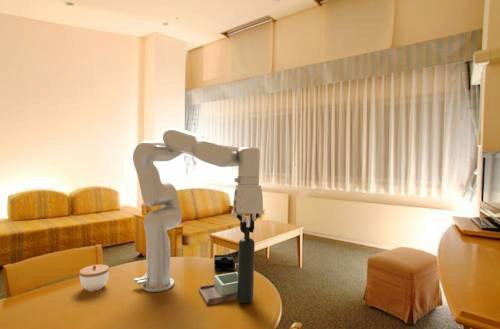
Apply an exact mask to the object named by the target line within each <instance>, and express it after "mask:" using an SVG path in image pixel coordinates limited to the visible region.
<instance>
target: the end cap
mask: <svg viewBox="0 0 500 329" xmlns="http://www.w3.org/2000/svg"><path fill="white" fill-rule="evenodd" d="M213 262H214V263H213V267H214V273H234V272H235V269H236V254H214V256H213Z"/></svg>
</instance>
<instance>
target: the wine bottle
mask: <svg viewBox="0 0 500 329" xmlns="http://www.w3.org/2000/svg"><path fill="white" fill-rule="evenodd" d="M245 222H246V233H243V238H240V240H239V242H238V255H237V256H238V257H237V260H238V261H237V263H238V290H237V299H236V300H237V301H238V302H240V303H243V304H248V303H251V302H253V300H254V283H255V282H254V281H255V278H254V277H255V276H254V274H255V245H256V244H255V243H256V242H255V241H254V239H253V238H251V236H250V235H251V232H250V216H245Z"/></svg>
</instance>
